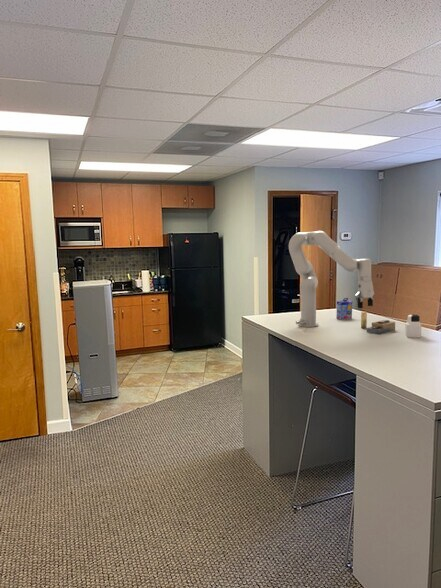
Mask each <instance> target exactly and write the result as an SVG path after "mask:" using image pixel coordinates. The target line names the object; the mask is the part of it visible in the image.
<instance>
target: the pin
mask: <svg viewBox="0 0 441 588" xmlns="http://www.w3.org/2000/svg"><path fill="white" fill-rule="evenodd" d="M360 316H361V317H360V320H361V321H360V329H364V330H365V329H366V330H367V328H368V327H367V326H368V325H367V324H368V323H367V321H368V320H367V318H368V312H367V311H361V314H360Z"/></svg>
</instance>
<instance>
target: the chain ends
mask: <svg viewBox="0 0 441 588" xmlns="http://www.w3.org/2000/svg"><path fill="white" fill-rule="evenodd" d="M394 331H396V322H395V321H390V320H388V319H382V320H378V321H373V322H371V326H370V327H367V328H366V333H370V334H376V335H381V334H385V333H389V332H394Z"/></svg>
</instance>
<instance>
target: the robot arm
mask: <svg viewBox="0 0 441 588" xmlns="http://www.w3.org/2000/svg"><path fill="white" fill-rule="evenodd" d="M303 246H318V248H319V249H321V250H322V251H324V252H325V254H327V256H329V258H331V259H332V260H333V261H334V262H336V263H337V264H338V265H339V266H340V267H341V268H342V269H344V271H347V272H348V273H352V272H354V271H357V273H358V274H357V278H358V282H357V293H356V294H354V296H355V300H356V302H357V308H358V309H363V305H364V303H363V301H364V299H367V306H368V307H373V306H374V301H373V300H374V297H375V293H376V292H375V291H374V284H373V281H372V260H371V258H359V259H358V258H352V257H351V256H349V255H348V254H347V253H346V252H345V251H344V249H342V248H341V246H340V245H339V244H338V243H337V242H336V241H334V240H333V239H332V238H331V237H330V236H329V235H328V234H327V233H326V232H325V231H323V230H317V231H305V232H304V231H303V232H301V231H300V232H296V233H295V234H294V235H292V236H291V238H290V240H289V242H288V251H289V255H290V257H291V261H292V262H293V267H294V269H295V271H296V273H297V274H298V275H299V276H300V277H301V281H300V283H299V290H300V318H299V320H295V324H296V325H298V326H299V327H301V328H315V327H318V326H320V325H319V323H318V322H317V292H316V288H317V287H318V284H319V281H318V280H319V279H318V278H317V274H316V272H315V269H314V267H313V264H312V263H311V261H310V260H308V259H307V257H306V254H305V252H304V249H303Z"/></svg>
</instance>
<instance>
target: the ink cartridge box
mask: <svg viewBox="0 0 441 588" xmlns="http://www.w3.org/2000/svg"><path fill="white" fill-rule="evenodd" d="M335 316H336V319H338V320H342V321H343V320H348V319H352V318H353V301H352V300H349V297H344V298H343V299H342V300H338V301H336V315H335Z"/></svg>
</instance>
